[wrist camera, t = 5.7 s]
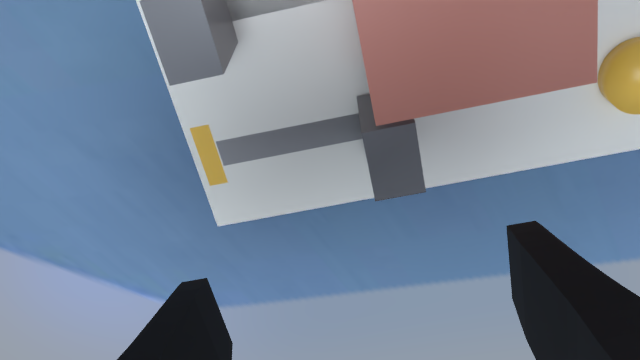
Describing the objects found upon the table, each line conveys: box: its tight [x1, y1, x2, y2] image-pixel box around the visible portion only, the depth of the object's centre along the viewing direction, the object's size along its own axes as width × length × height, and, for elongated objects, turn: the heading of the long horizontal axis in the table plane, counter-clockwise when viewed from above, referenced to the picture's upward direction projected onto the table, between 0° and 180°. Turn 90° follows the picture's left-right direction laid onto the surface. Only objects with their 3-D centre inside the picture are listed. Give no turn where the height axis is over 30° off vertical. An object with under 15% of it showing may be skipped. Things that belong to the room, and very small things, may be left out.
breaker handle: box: [357, 94, 426, 201], centre depth 19 cm, size 2×2×3 cm
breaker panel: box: [136, 0, 640, 226], centre depth 18 cm, size 18×11×4 cm, turn 102°
